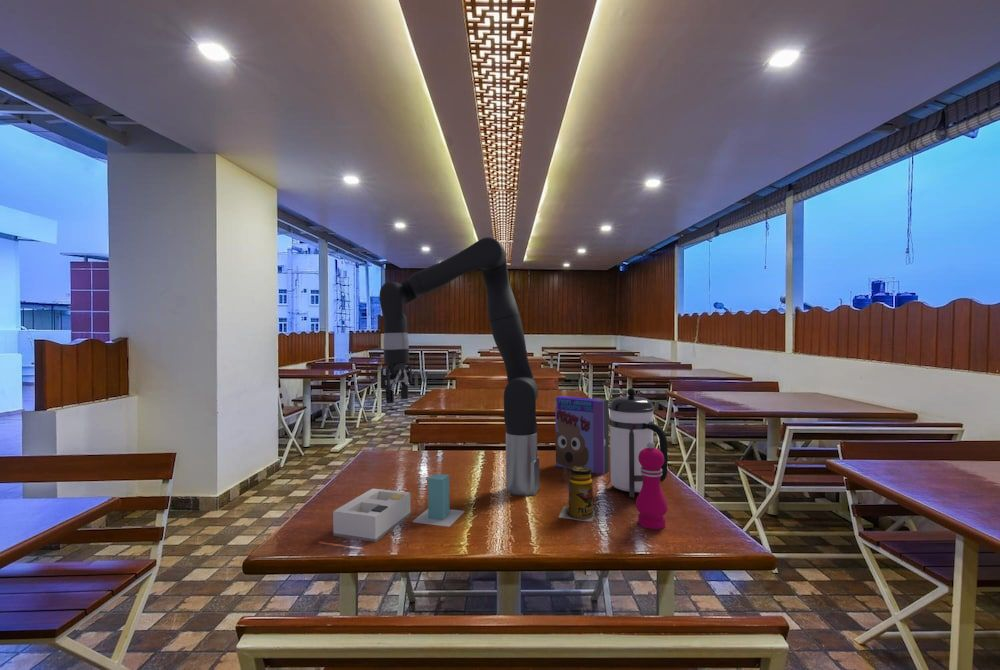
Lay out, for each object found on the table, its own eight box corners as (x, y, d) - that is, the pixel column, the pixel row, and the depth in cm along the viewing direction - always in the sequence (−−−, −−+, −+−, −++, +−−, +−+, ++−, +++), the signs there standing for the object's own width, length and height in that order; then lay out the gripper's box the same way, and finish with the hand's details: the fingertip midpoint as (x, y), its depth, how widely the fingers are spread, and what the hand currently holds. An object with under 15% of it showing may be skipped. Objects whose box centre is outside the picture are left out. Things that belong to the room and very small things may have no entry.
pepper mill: (663, 533, 107) (663, 446, 107) (632, 526, 111) (631, 442, 111) (670, 522, 113) (670, 440, 113) (640, 516, 117) (640, 436, 117)
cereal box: (555, 466, 161) (555, 397, 160) (562, 463, 164) (561, 395, 164) (603, 474, 151) (603, 401, 150) (608, 471, 154) (608, 399, 154)
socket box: (410, 516, 118) (410, 491, 118) (375, 543, 103) (375, 515, 102) (372, 511, 121) (372, 487, 121) (333, 537, 106) (333, 509, 106)
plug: (449, 514, 118) (449, 474, 118) (443, 520, 114) (442, 479, 114) (435, 512, 119) (434, 473, 119) (428, 518, 115) (428, 478, 115)
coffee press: (601, 498, 129) (601, 391, 129) (608, 480, 144) (608, 384, 144) (667, 505, 124) (667, 393, 123) (667, 486, 139) (667, 386, 138)
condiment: (592, 522, 113) (592, 473, 113) (558, 518, 116) (557, 470, 116) (595, 511, 120) (595, 465, 120) (563, 507, 123) (562, 462, 123)
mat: (464, 512, 120) (464, 511, 120) (449, 528, 110) (449, 526, 110) (429, 508, 123) (429, 506, 123) (411, 523, 113) (411, 521, 113)
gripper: (394, 348, 134) (396, 404, 134) (418, 346, 147) (419, 397, 147) (372, 349, 136) (373, 404, 136) (397, 347, 150) (399, 397, 150)
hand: (397, 400), depth 142 cm, fingers open, 8 cm apart
